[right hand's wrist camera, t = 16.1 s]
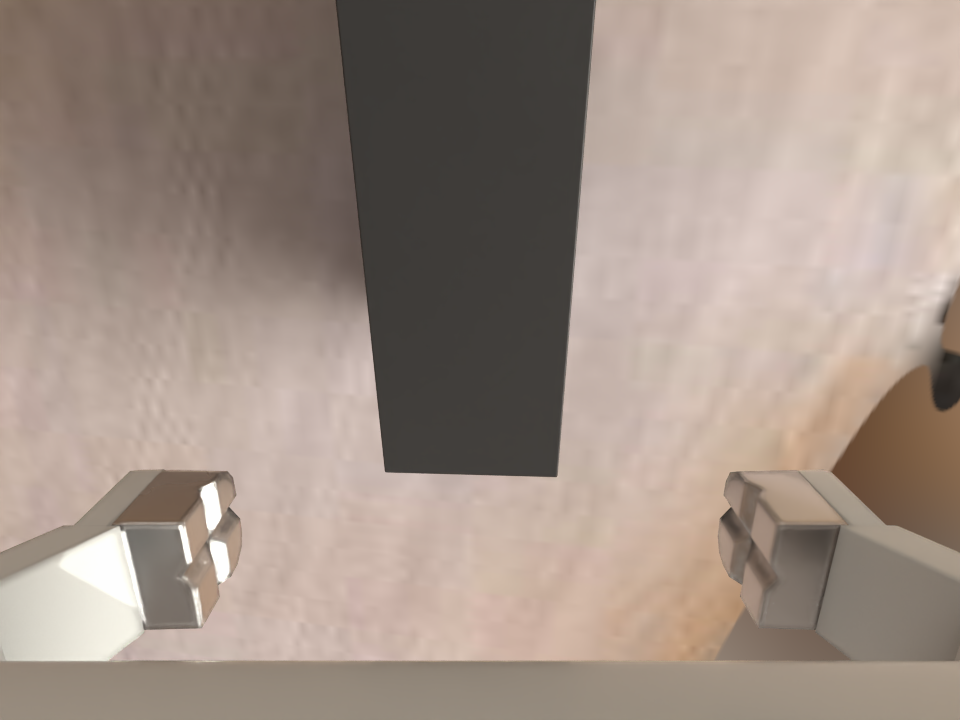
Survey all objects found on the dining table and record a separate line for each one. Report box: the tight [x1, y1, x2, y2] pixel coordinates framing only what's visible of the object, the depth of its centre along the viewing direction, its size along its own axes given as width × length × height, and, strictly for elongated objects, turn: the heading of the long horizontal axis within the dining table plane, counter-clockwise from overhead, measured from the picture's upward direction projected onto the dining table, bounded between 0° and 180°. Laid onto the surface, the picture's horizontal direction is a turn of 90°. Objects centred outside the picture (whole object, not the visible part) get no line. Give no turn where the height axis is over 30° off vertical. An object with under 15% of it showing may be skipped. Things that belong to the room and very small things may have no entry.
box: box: [336, 0, 596, 477], centre depth 20 cm, size 24×6×12 cm, turn 0°
